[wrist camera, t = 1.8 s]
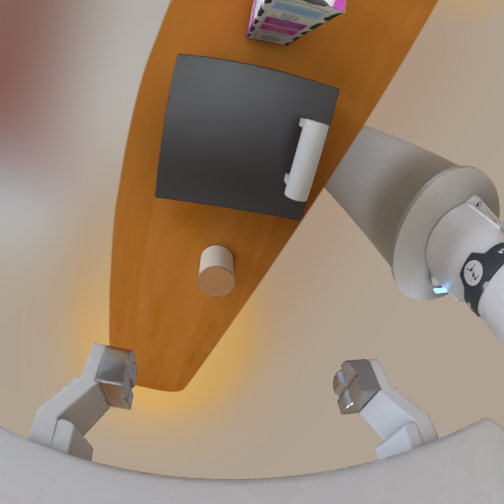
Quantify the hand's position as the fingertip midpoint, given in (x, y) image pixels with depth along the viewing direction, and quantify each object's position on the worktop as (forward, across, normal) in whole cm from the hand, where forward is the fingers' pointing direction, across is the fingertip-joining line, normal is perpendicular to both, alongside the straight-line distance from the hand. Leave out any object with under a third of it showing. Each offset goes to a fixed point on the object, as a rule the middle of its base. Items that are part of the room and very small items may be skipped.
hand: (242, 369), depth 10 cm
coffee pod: (+27, 0, +13) cm, 30 cm away
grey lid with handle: (+18, 0, -5) cm, 19 cm away
